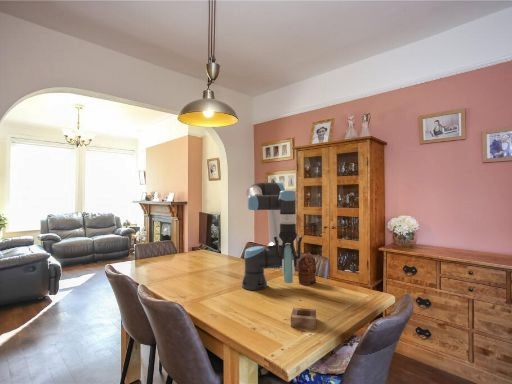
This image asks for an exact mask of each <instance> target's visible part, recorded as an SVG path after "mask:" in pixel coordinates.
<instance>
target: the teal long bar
mask: <svg viewBox="0 0 512 384" xmlns="http://www.w3.org/2000/svg"><path fill="white" fill-rule="evenodd" d="M292 259H294V258H293V253H292V248H291V245H290V243H286V244H285V248H284V274H283V281H284V283H285V284H292V283H294V274H292Z"/></svg>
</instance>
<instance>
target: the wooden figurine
mask: <svg viewBox="0 0 512 384" xmlns="http://www.w3.org/2000/svg"><path fill="white" fill-rule="evenodd" d="M297 261H298V262H297V268H298V277H297V278H298V284H299V285H302V284H303V285H304V286H310V285H313V284H314V283H315V284H316V283H317V279H316V272H317V267H316V263H317V261H316V259H315V258H314V257H313V255H312V254H310V253H305V254H302V255H301V257H300V258H299V260H297ZM303 285H302V286H303Z"/></svg>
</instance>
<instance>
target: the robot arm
mask: <svg viewBox="0 0 512 384" xmlns="http://www.w3.org/2000/svg"><path fill="white" fill-rule="evenodd" d="M246 196H247V209H248V210H249V211H267V221H268V224H267V225H268V241H269V242H268V244H267V245H266V248H265V247H264V246H263V245H262V246H261V245H260V246H259V245H257V246H251V247H247V248H246V249H245V250H244V256H243V257H244V275H243V278H242V280H241V287H242V288H243V289H245V290H247V291H248V290H249V291H261V290H264V289H266V288H267V287H268V281H267V279H266V275H265V269H267V270H268V269H269V270H270V269H281V271H282V272H281V274H283V275H284V248H285V245H286V244H290V245H291V248H292V256H293V259H292V274H293V275H294V274H295V267H297V266H298V262H297V261H298V259H299V260H300V258H301V256H302V255H301V252H302V249H301V248H302V240H303V237H302V236H299V235H298V234H297V224H296V223H297V220H296V219H297V215H296V213H297V209H296V203H297V201H296V199H297V196H296V191H295V190H285V186H284V184H283V183H282V182H276V181H275V182H256V183H253V184H251V185H249V187H248V188H247V189H246ZM295 240H297V253H296V248H295V243H294V241H295Z"/></svg>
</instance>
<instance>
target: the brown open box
mask: <svg viewBox="0 0 512 384" xmlns="http://www.w3.org/2000/svg"><path fill="white" fill-rule="evenodd" d="M290 327H291V328H300V329H308V330H309V329H310V330H317V309H316V308H315V309H314V308H305V307H304V308H303V307H293V308H292V311H291V315H290Z"/></svg>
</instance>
